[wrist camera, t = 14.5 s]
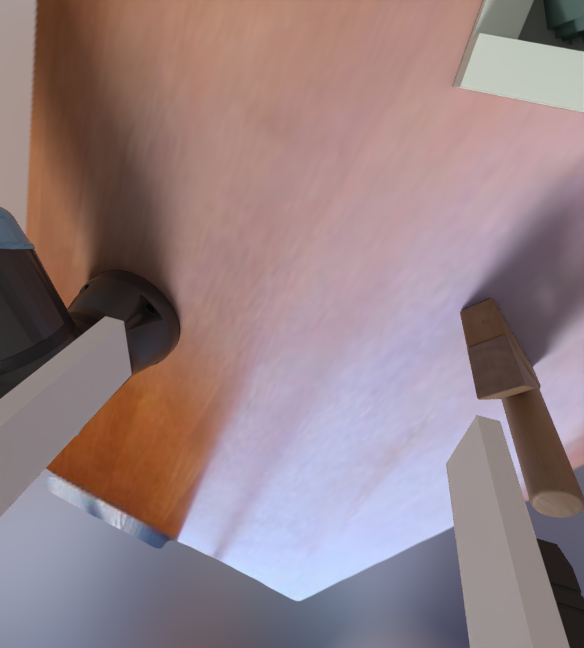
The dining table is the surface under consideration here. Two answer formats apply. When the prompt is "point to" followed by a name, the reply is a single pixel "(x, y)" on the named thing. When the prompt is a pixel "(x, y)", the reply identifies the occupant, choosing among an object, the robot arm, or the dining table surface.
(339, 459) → the dining table surface
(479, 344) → the wooden block
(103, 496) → the dining table surface
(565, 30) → the can
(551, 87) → the socket block
